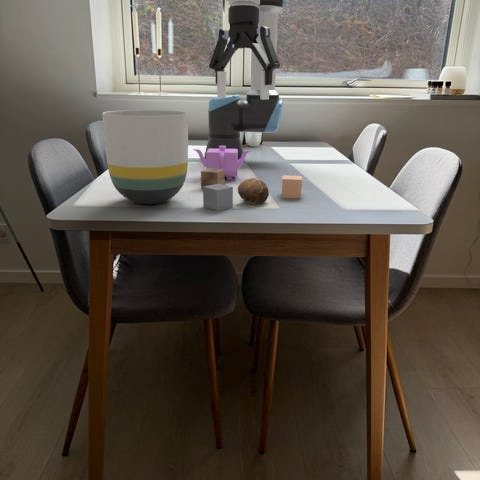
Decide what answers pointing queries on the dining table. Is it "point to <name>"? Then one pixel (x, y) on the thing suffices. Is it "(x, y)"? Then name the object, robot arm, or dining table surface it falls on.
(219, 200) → the slate cube
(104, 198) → the dining table surface
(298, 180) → the terracotta cube
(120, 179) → the planter
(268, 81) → the robot arm
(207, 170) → the walnut cube
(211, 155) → the teapot
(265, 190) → the mushroom
